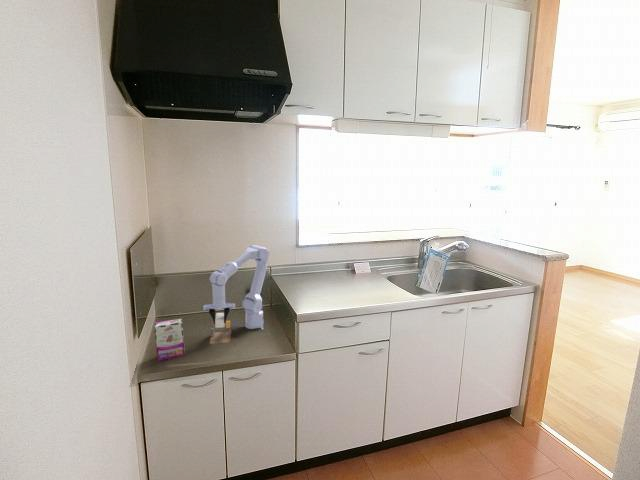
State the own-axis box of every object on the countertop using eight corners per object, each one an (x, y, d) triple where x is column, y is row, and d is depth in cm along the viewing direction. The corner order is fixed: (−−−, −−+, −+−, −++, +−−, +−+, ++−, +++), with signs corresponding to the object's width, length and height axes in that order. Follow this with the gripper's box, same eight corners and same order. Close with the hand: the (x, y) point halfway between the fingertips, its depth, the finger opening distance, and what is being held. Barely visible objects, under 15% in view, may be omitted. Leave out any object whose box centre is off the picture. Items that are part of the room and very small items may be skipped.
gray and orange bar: (245, 324, 169) (245, 319, 169) (245, 326, 167) (245, 321, 167) (226, 326, 167) (226, 320, 167) (226, 328, 165) (225, 322, 165)
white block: (225, 319, 167) (224, 312, 167) (224, 327, 160) (223, 319, 159) (216, 320, 167) (216, 313, 166) (215, 327, 159) (215, 320, 158)
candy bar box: (184, 350, 154) (182, 317, 150) (185, 356, 149) (182, 322, 146) (157, 355, 149) (154, 321, 146) (157, 361, 145) (154, 326, 141)
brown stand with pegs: (231, 332, 171) (231, 324, 170) (230, 343, 161) (230, 334, 160) (211, 334, 169) (211, 325, 168) (209, 345, 159) (209, 336, 158)
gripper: (201, 300, 153) (203, 327, 156) (234, 298, 156) (235, 325, 159) (203, 294, 160) (205, 320, 163) (234, 293, 163) (235, 318, 166)
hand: (220, 322), depth 161 cm, fingers closed on white block, 4 cm apart
